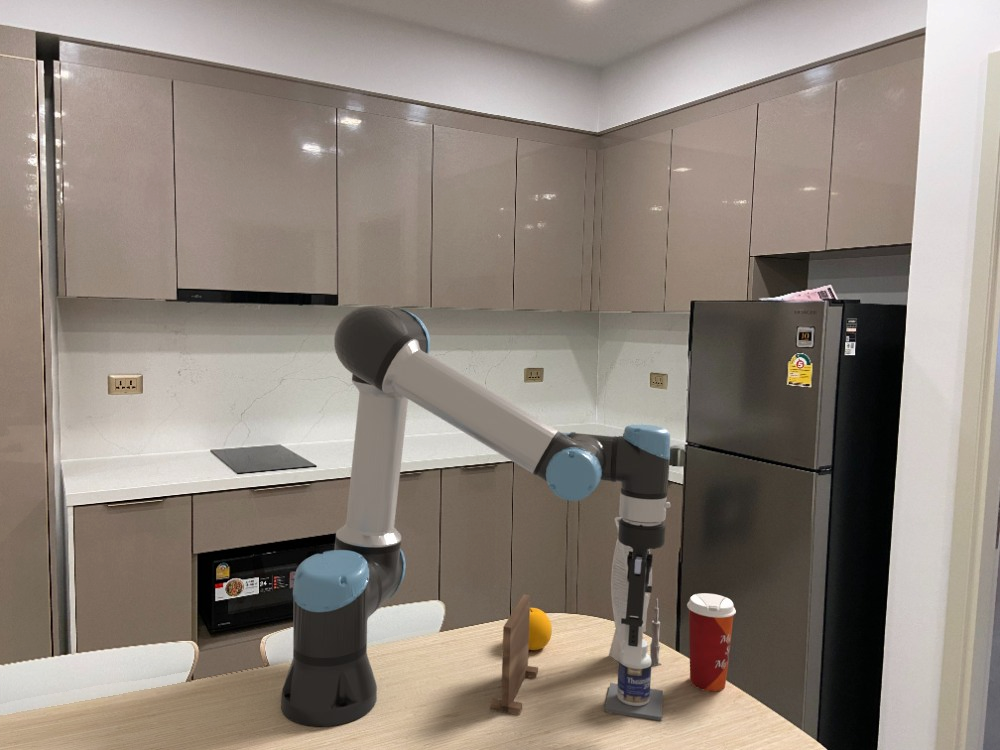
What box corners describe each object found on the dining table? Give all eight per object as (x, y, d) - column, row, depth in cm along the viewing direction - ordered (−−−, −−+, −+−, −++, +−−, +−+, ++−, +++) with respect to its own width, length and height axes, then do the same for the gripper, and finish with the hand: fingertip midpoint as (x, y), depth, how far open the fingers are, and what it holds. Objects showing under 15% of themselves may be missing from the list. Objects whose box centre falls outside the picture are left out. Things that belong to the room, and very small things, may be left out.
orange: (547, 657, 138) (548, 619, 137) (506, 652, 140) (507, 614, 139) (554, 640, 145) (555, 603, 145) (515, 635, 147) (516, 599, 147)
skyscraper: (624, 675, 132) (631, 522, 131) (598, 656, 139) (604, 512, 138) (661, 666, 136) (667, 518, 134) (634, 648, 143) (640, 508, 142)
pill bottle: (625, 709, 119) (628, 650, 118) (611, 692, 124) (614, 636, 123) (655, 705, 120) (658, 647, 119) (640, 689, 125) (643, 634, 125)
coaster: (604, 711, 119) (604, 708, 119) (610, 686, 127) (610, 682, 127) (661, 720, 116) (661, 717, 116) (663, 693, 125) (663, 690, 125)
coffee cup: (734, 697, 125) (738, 611, 124) (684, 691, 126) (688, 606, 125) (729, 675, 133) (733, 594, 132) (682, 669, 134) (686, 589, 134)
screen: (489, 709, 118) (491, 625, 117) (511, 668, 133) (513, 593, 132) (519, 714, 117) (522, 629, 116) (538, 672, 131) (540, 596, 131)
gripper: (663, 543, 107) (654, 684, 108) (667, 505, 131) (660, 620, 132) (611, 537, 109) (604, 676, 110) (625, 500, 133) (618, 614, 134)
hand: (634, 646), depth 121 cm, fingers open, 13 cm apart
